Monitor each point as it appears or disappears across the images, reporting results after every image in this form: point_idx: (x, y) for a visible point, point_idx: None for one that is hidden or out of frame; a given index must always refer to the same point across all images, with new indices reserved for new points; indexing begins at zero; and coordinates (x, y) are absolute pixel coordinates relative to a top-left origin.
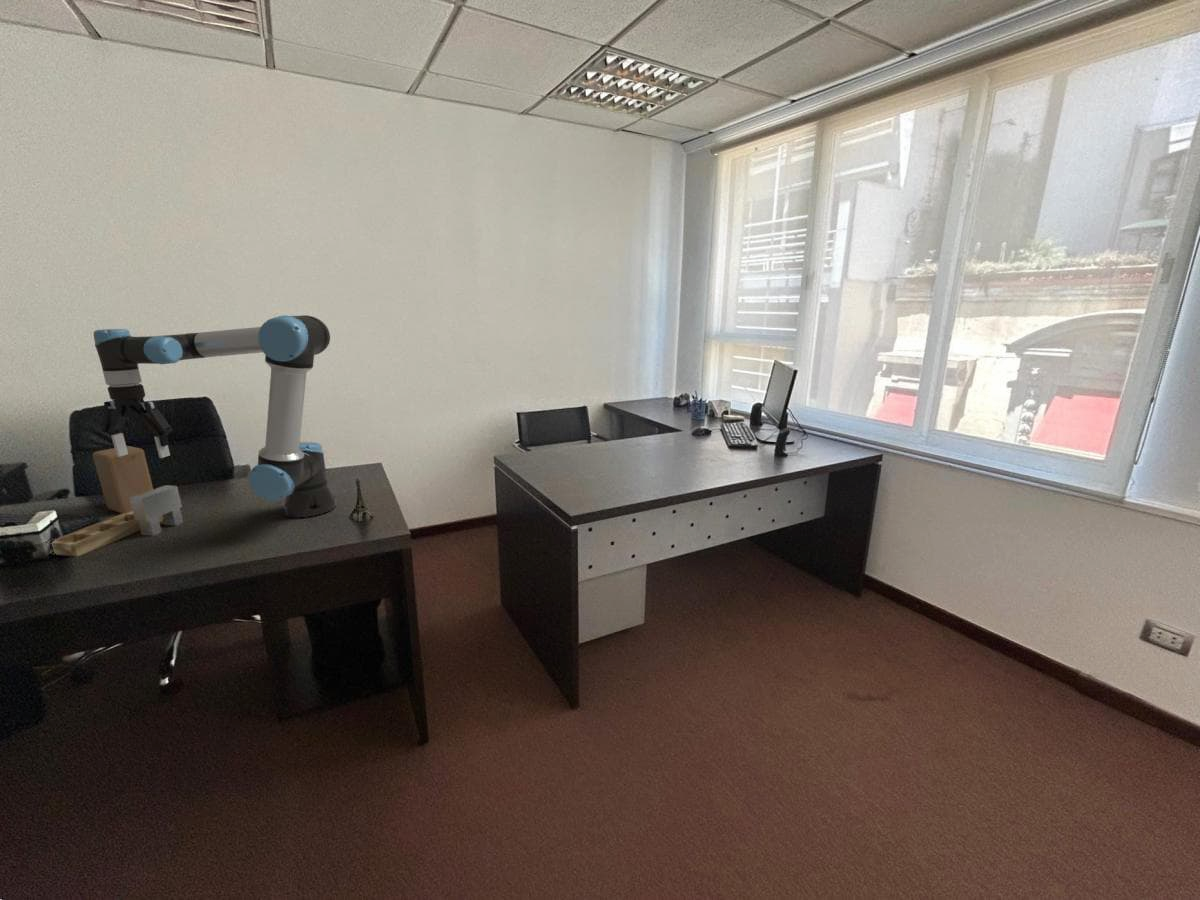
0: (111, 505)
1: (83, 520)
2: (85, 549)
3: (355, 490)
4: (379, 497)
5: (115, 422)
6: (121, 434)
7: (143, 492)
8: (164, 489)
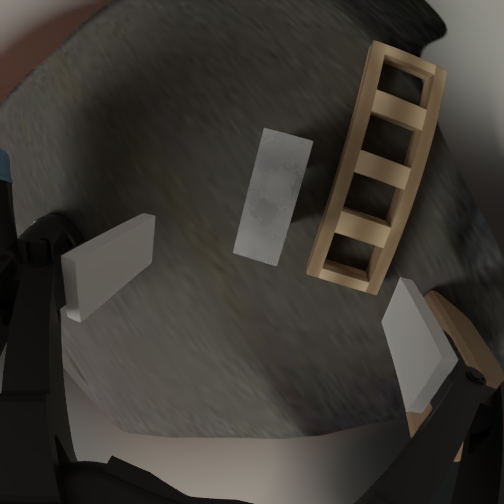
0: (459, 312)
1: (484, 262)
2: (366, 61)
3: None
4: None
5: (427, 452)
6: (410, 398)
7: None
8: (251, 221)
